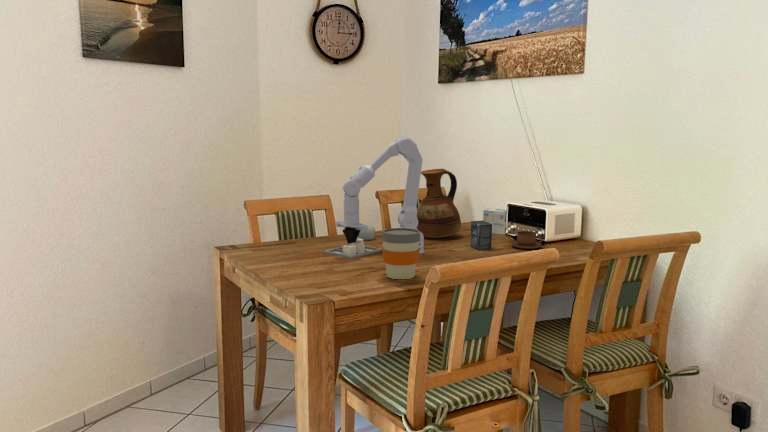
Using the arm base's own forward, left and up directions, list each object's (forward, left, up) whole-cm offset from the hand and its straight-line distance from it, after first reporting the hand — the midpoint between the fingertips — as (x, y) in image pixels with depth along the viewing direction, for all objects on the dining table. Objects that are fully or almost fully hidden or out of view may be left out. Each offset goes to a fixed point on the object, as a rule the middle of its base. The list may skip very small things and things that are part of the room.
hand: (351, 247), depth 227 cm
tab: (-4, +6, -2) cm, 7 cm away
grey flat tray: (-1, 0, -3) cm, 3 cm away
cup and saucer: (-44, -55, -3) cm, 71 cm away
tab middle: (-3, 0, -2) cm, 4 cm away
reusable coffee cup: (-34, +14, -3) cm, 37 cm away
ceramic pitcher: (-4, -51, -3) cm, 51 cm away
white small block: (+2, -5, -2) cm, 6 cm away
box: (-31, -42, -3) cm, 53 cm away
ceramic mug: (+14, -21, -3) cm, 26 cm away
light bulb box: (-19, -76, -3) cm, 78 cm away
